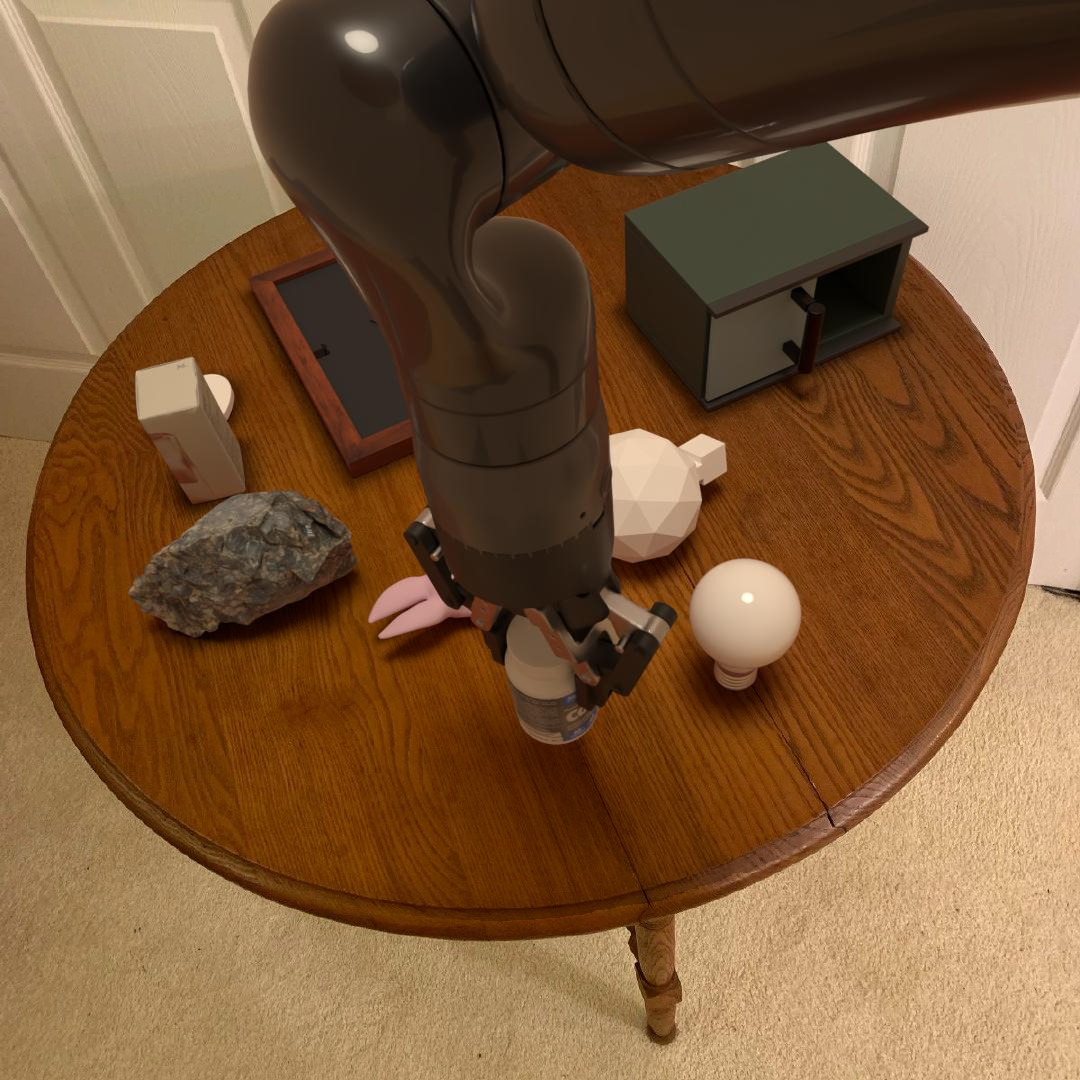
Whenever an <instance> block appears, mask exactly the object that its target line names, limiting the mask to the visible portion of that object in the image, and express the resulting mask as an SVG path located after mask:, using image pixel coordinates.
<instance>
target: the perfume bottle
mask: <svg viewBox="0 0 1080 1080" xmlns="http://www.w3.org/2000/svg"><path fill="white" fill-rule="evenodd" d="M609 438H610V456H611V467H612V493H613V511H614V545H613V552H612V558H615V559H618V560H621V561H625V562H628V563H630V564H634V563H638V562H643V561H647V560H652V559H657V558H661V557H665V556H669V555H670V554H671V553H673V551H674V550H675V549H676V548H677V547H678V546H679V545H680V544H682V542H683V541H685V539H686V538H688V537H689V535H690V534H692V533H693V532H694V531H695V530H696V527H697V522H698V518H699V514H700V510H701V506H702V502H703V497H702V492H701V486H700V484H701V485H702V486H706V485H707V484H709V483H711V482H712V481H714V480H715V479H718V477H720V476H721V475H723V474H725V473H727V472H728V463H727V451H726V450H727V449H726V443H725V442H723V441H721V440H718V439H715V438H713V437H711V436H709V435H706V434H704V433H700V434H697V436H695V437H693V438H691V439H690V440H688V441H686V442H685V443H683V444H681V445H679V446H677V445H675V444H674V443H673V442H672V441H671V440H669V438H668V439H667V438H665V437H662V436H660V435H657V434H655V433H653V432H650V431H647V430H645V429H642V428H635V429H632V430H626V431H622V432H619V433H613V434H609Z"/></svg>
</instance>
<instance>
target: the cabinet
mask: <svg viewBox="0 0 1080 1080" xmlns="http://www.w3.org/2000/svg"><path fill="white" fill-rule="evenodd" d="M623 217H624V219H623V220H624V273H625V274H624V275H625V277H624V279H625V281H624V282H625V313H626V315H627V316H628V317H629V318H630V319H631V321H632V322H633V323H634V325H635V326H636V327H637V328H638V330H639V331H640V333H642V334H643V336H644V337H645V338H646V339H647V341H649V343H650V344H651V346H653V348H654V349H655V350H656V351H657V353H658V354H659V355H660V356H661V358H663V360H664V361H665V362H666V363H667V365H668V366H669V367H670V369H671V370H672V371H673V372H674V373H675V374H676V375H677V377H678V379H680V380H681V382H682V383H683V384H684V386H686V388H687V389H688V390H689V391H690V393H691V394H692V395H693V396H694V398H695V399H697V401H698V402H699V403H700V405H701V406H702V407H703V409H704V410H705V411H706V412H707V413H711V412H712V411H715V410H717V409H720V408H722V407H724V406H727V405H729V404H731V403H733V402H735V401H739V400H740V399H742V398H745V397H747V396H750V395H752V394H754V393H756V392H759V391H761V390H763V389H766V388H768V387H770V386H773V385H775V384H777V383H780V382H782V381H785V380H787V379H789V378H791V377H793V376H796V375H798V374H801V373H800V372H799V371H798V369H797V365H795V364H793V365H791V366H789V367H787V368H784V369H782V370H780V371H777V372H775V373H773V374H770V375H768V376H766V377H763V378H761V379H759V380H756V381H754V382H752V383H749V384H747V385H745V386H742V387H740V388H738V389H735V390H733V391H731V392H728V393H726V394H724V395H721V396H719V397H717V398H714V399H712V400H710V401H707V400H706V399H705V394H706V381H707V368H708V355H709V342H710V329H711V316H713V317H714V318H715V319H718V318H720V317H723V316H725V315H728V314H730V313H733V312H735V311H737V310H740V309H742V308H745V307H747V306H750V305H752V304H754V303H757V302H759V301H762V300H764V299H767V298H769V297H771V296H774V295H776V294H779V293H781V292H784V291H786V290H788V289H791V288H793V287H796V286H798V285H801V284H803V283H805V282H808V281H810V280H813V279H815V278H817V282H816V287H815V293H814V299H815V300H816V302H817V303H821V304H823V305H824V306H825V313H824V318H823V324H822V329H821V334H820V339H819V344H818V349H817V354H816V359H815V364H814V367H817V366H820V365H821V364H823V363H826V362H828V361H830V360H833V359H836V358H838V357H840V356H842V355H844V354H847V353H850V352H851V351H854V350H857V349H859V348H860V347H863V346H865V345H867V344H870V343H872V342H875V341H877V340H879V339H881V338H884V337H887V336H889V335H891V334H893V333H895V332H897V331H900V330H901V327H902V324H901V323H900V322H899V321H897V319H896V318H894V317H893V313H894V310H895V306H896V302H897V299H898V295H899V292H900V287H901V285H902V280H903V277H904V272H905V270H906V265H907V262H908V258H909V254H910V250H911V247H912V243H913V240H914V239H915V238H917V237H920V236H922V235H924V234H927V233H928V232H929V230H930V226H929V225H928V224H926V223H925V222H924V221H923V220H922V219H921V218H919V216H917V215H915V214H914V213H913V212H912V211H911V210H909V209H908V208H907V207H906V206H905V205H903V203H901V202H900V201H899V200H897V199H896V198H895V197H894V196H892V194H890V192H888V191H887V190H885V189H884V188H883V187H882V186H881V185H879V184H878V183H877V182H876V181H874V179H873V178H871V177H870V176H868V175H867V174H866V173H865V172H864V171H863V170H861V169H860V168H859V167H858V166H857V165H855V164H854V163H853V162H852V161H850V160H849V159H848V158H847V157H846V156H844V154H842V153H841V152H840V151H839V150H837V149H836V148H835V147H834V146H833V145H832V144H830V143H829V142H825V143H820V144H816V145H812V146H807V147H802V148H797V149H793V150H788V151H783V152H780V153H779V154H777V155H774V156H771V157H769V158H766V159H763V160H761V161H758V162H755V163H752V164H750V165H748V166H744V167H742V168H739V169H736V170H734V171H730V172H729V173H727V174H724V175H721V176H719V177H716V178H714V179H711V180H708V181H705V182H703V183H699V184H697V185H695V186H691V187H690V188H686V189H683V190H681V191H679V192H676V193H674V194H671V195H669V196H666V197H663V198H661V199H657V200H655V201H653V202H651V203H650V202H649V203H648V204H645V205H643V206H640V207H636V208H634V209H632V210H629V211H626V212H624V216H623Z"/></svg>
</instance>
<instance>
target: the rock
mask: <svg viewBox="0 0 1080 1080" xmlns="http://www.w3.org/2000/svg"><path fill="white" fill-rule="evenodd" d="M352 538H353V534H352V531H350V529H349V528H348V527H347V526H346V525H345V523H344V522H343V521H341V520H340V519H338V518H337V517H336V516H335V515H333V514H332V513H331V512H330V511H329V509H327V508H326V507H325V506H323V505H322V504H320V502H319V501H318V500H317V499H313V498H309V497H306V496H304V495H303V494H302V493H300V492H298V491H295V490H292V489H289V490H286V491H283V490H279V489H277V490H271V491H270V490H269V491H256V492H250V493H239V494H236V495H232V496H229V498H228V497H227V498H226V499H225V500H223V502H220V503H218V504H217V505H216V506H214V507H213V508H212V509H211V510H209V511H207V513H205V514H204V515H203V516H201V517H200V518H199V519H198V520H196V521H195V522H194V524H193V526H191V527H188V529H186V530H185V531H183V532H182V534H181V535H180V536H179V537H178V538H176V539H175V540H173V541H172V542H170V543H169V544H167V545H166V546H164V547H162V548H161V550H159V551H157V552H156V553H154V554H153V555H152V556H151V557H150V561H149V563H148V564H146V565H145V566H144V568H143V574H141V575H140V576H137V577H135V579H134V580H133V583H132V584H133V585H132V586H131V587H130V589H129V591H128V592H127V594H128V595H129V597H130V599H131V600H132V601H133V602H135V603H136V604H138V605H139V606H140V607H139V610H140V611H141V612H142V613H144V614H145V615H149V616H154V617H156V618H159V619H160V620H162V621H164V622H166V625H167V627H168V628H170V629H172V630H174V631H178V632H180V633H183V634H185V635H187V636H190V637H192V638H193V639H196V638H198V637H201V636H203V634H204V633H205V632H208V633H212V632H215V631H217V630H218V629H219V626H220V624H221V623H224V624H227V623H236V624H238V625H243V626H244V625H245V626H249V625H251V624H252V623H253V622H254V621H255V620H257V619H259V618H260V617H262V616H264V615H265V614H270V613H272V612H274V611H277V610H279V609H282V608H283V607H285V606H287V605H288V604H294V603H295V602H296V603H297V602H298V601H301V600H303V599H305V598H307V597H308V596H309V595H310V594H311V593H312V592H314V591H316V590H317V589H320V588H323V587H325V586H327V585H328V584H330V583H333V582H335V581H336V580H337V579H340V578H342V577H344V576H347V575H348V574H349V573H350V572H351V571H352V570H353V569H354V568H355V567H356V565H357V560H358V559H357V556H355V555H354V554H353V547H354V546H353V545H352V543H350V542H351V540H352Z"/></svg>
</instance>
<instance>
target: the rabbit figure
mask: <svg viewBox="0 0 1080 1080" xmlns="http://www.w3.org/2000/svg"><path fill="white" fill-rule="evenodd" d="M453 578H454V576H453V575H452V579H453ZM410 607H411V608H410ZM408 608H409V609H408ZM405 609H408V610H406V611H404V612H402V613H401V614H399V615H398V616H397V617H395V618H394V619H393V620H392V621H391V622H389V624H388V625H387V626H386V627H385V628H384V629H383V630H382V631H381V632H380V633H379V634H378V636H377V637H378V638H379V639H380V640H381V639H383V640H386V639H391V638H394V637H396V636H397V637H398V636H400V635H403V634H407V633H411V632H413V631H416V630H417V631H418V630H421V629H425V628H429V627H432V626H435V625H438V624H440V623H442V622H444V620H446V619H448V618H453V619H454V618H455V619H456V618H457V619H458V618H470V617H471V614H472V612H471V611H470V610H469V609H468V608H466V607H465V606H463V605H462V606H461V607H460V609H459V610H455V609H452V608H450V607H448V606H447V605H446V604H445V603H444V602H443V601H442V600H441V598H440V596H439V595H438V593H437V591H436V590H435V588H434V586H433V585H432V583H431V581H430V580H429V578H428V576H427V575H426V574H424V575H422V576H409V577H405V578H403V579H401V580H398V581H397V582H395V583H394V584H392V585H390V586H388V587H387V588H386V589H385V590H384V591H383V592H382V593H381V594H380V595H379V597H378V598H377V600H376V601H375V603H374V605H373V607H372V608H371V611H370V613H369V616H368V621H367V622H368V623H369V624H374V623H376V622H377V621H379V620H382V619H385V618H387V617H389V616H392V615H394V614H396V613H398V612H400V611H403V610H405Z"/></svg>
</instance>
